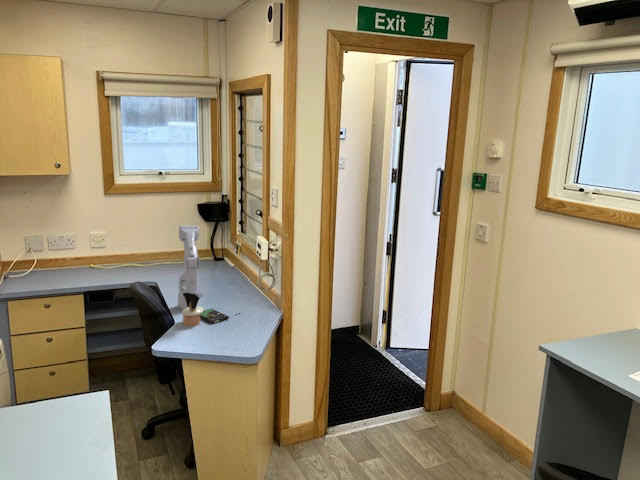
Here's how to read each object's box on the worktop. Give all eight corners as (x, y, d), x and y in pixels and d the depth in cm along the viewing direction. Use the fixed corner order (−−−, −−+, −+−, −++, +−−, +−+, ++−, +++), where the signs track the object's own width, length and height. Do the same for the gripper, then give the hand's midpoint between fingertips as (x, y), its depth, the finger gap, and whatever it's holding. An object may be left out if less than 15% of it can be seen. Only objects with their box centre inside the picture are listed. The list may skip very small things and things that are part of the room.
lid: (178, 312, 249) (177, 303, 248) (195, 306, 256) (195, 297, 255) (189, 317, 243) (189, 308, 241) (207, 311, 250) (206, 302, 248)
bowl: (179, 322, 250) (179, 313, 249) (193, 318, 256) (193, 310, 255) (189, 327, 245) (189, 318, 244) (203, 323, 251) (203, 314, 250)
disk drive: (229, 321, 257) (211, 313, 266) (229, 316, 256) (211, 307, 266) (212, 326, 249) (194, 317, 259) (212, 320, 248) (194, 312, 258)
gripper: (176, 278, 248) (176, 305, 250) (193, 286, 238) (193, 313, 241) (188, 276, 253) (188, 302, 256) (206, 283, 243) (205, 310, 246)
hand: (191, 307), depth 249 cm, fingers closed on lid, 3 cm apart
